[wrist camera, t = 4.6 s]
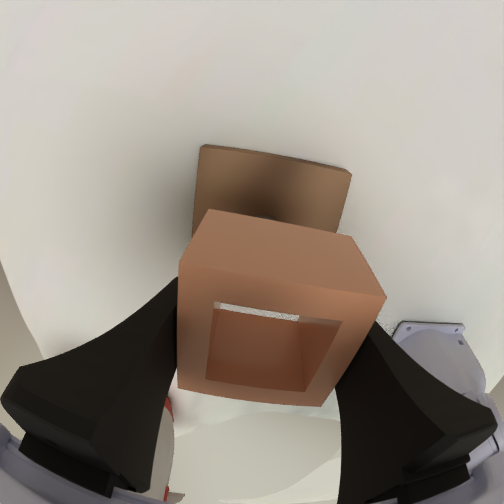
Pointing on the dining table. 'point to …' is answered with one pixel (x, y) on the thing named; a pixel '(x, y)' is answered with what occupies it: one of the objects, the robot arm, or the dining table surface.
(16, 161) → the dining table surface
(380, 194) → the dining table surface
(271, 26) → the dining table surface
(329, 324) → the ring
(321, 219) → the post stand
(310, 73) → the dining table surface
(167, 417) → the citrus juicer
